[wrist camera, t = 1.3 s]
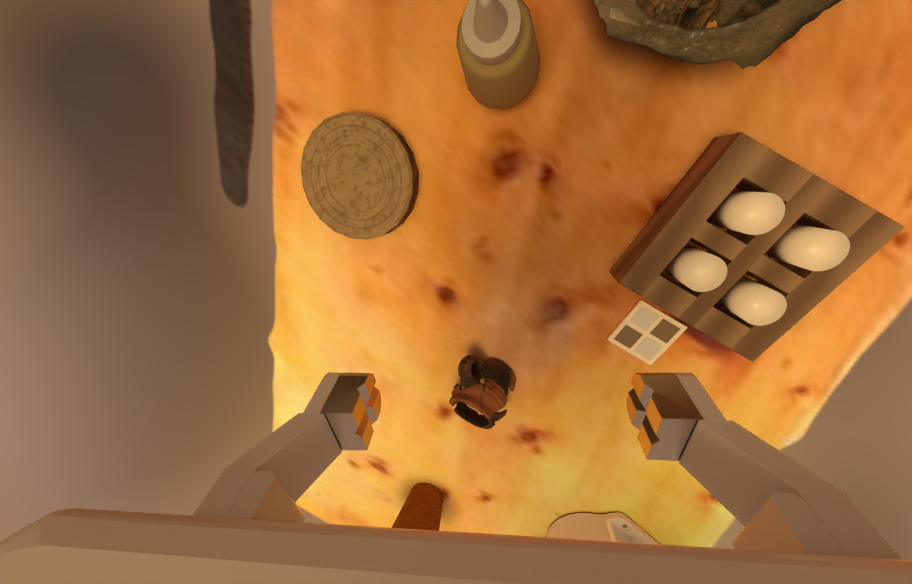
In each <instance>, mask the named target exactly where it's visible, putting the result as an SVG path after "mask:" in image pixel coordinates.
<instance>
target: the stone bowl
mask: <svg viewBox="0 0 912 584" xmlns="http://www.w3.org/2000/svg"><path fill="white" fill-rule="evenodd" d="M840 1H841V0H594V3H595V6H596V7H597V9H598V11H599V17H600V18H603V19H604V21H605V24H606V34H607V35H608V36H610V37H613V38H615V39H617V40H620V41H623V42H628V43H633V44H637V45H640V46H642V47H644V48H647V49H650V50H653V51H655V52H658V53H660V54H662V55H664V56H667V57H669V58H672V59H676V60H680V61H684V62H689V63H696V64H707V63H713V62H716V61H720V60H733V61H734V62H735V63H736V64H738V65H740V67H741V68H742V69H743V68H746V67H747V66H757V65H758V64H759V63H761V62H762V61H763V60H765V59H766V58H767V57H768V56H770V55H771V54H772V53H773V52H774V51H775V50H776V49H777V48H778V47H779V46H780V45H781V44H782V43H784V42H785V41H787V40H788V39H790V38H791V37H793V36H794V35H795V34H796V33H797V32H798V31H799V30H800V29H801V28H802V27H803V26H804V25H805V24H806V23H808V22H810V21H813V20H815V19H816V18H817V17H818V16H819V15H820V14H821V13H822V12H823V11H824V10H826V9H829V8H831V7H832V6H833V5H835V4H837V3H838V2H840ZM714 20H716V21H717V27H714V28H706V26H707V24H708V23H709V22H713V21H714ZM705 28H706V29H705Z"/></svg>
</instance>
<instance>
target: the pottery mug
mask: <svg viewBox="0 0 912 584" xmlns="http://www.w3.org/2000/svg"><path fill="white" fill-rule="evenodd" d="M458 372H459V375H460V378H461V379H460V384H461V386H463V387H465V388H464V389H461V386H459V385H457V384H456V385H455V386H454V390H453V391H452V397H451V398H450V400H449V403H450V405H452V406H454V405H455V403H456V404H457V406H456V408H455V409H454V411H455V412H456V413H457V414H458V415H459V416H460V417H461V418H463V419H464V420H466V421H467V422H469V423H471V424H473V425H475V426H478V427H480V428H484V429H489V428H492V427H493V426H494V425H495V423H494V422H495V421H498V420H500V419H501V418H502V417H503V416H505V415H506V412H507V410H504V411H502V412H496V411H498V410H500V409H502V408H503V407H504V406H505V405H506V402H507V398H506V395H507V393H508V389H509V387H510V390H511V391H514V388H515V381H516V378H515V375H514V373H513V372H512V371H511V369H510V368H509V367H508V366H507V365H505V364H504V363H503V362H501V361H500V360H497V359H495V358H492V357H490V358H489V360H488V361H487V363H485V362H484V361H483V360H482V359H480V358H478V357H477V356H475V355H468V356H466V357H464V358H463V359H462V360H461V362H460V364H459V368H458ZM481 378H485V384H482V383H480V379H481ZM465 403H466V404H468V405H470V406H472V407H474V408H476V409H477V410H479V411H480V412H481V413H482V414H483V415H479V414H478V412H476V411H475V410H473V409H471V408H469V407H468V406H467V405H466V404H465Z"/></svg>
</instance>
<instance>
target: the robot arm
mask: <svg viewBox="0 0 912 584" xmlns="http://www.w3.org/2000/svg"><path fill="white" fill-rule="evenodd" d="M375 383H376V380H375V377H374V374H371V373H327V374H326V375H325V376H324V377H323V379H322V381H321V383H320V384H319V386H318V388H317V390H316V391H315V393H314V395H313V397H312V399H311V400H310V402H309V404H308V406H307V407H306V409H305V411H304V413H299V414H297V415H296V416H295V417H293V418H292V419H290V420H289V421H288V422H286V423H285V424H284V425H282V426H281V427H280V428H278V429H277V430H276V431H274V432H273V433H272V434H270V435H269V436H267V437H266V438H265V439H263V440H262V441H261V442H259V443H258V444H257V445H255V446H254V447H253V448H251V449H250V450H249V451H247V452H246V453H244V454H243V455H242V456H241V457H239V458H238V459H236V460H235V461H234V462H233V463H231V464H230V465H228V466H227V467H226V468H225V469H224V470H223V472H222V473H221V475H220V476H219V478H218V479H217V480H216V482H215V483H214V485H213V486H212V488H211V489H210V491H209V492H208V493H207V495H206V496H205V498H204V499H203V501H202V502H201V504H200V505H199V507H198V508H197V509H196V511H195V512H194V514H193V515H192V516H191V515H175V514H160V513H144V512H127V511H111V510H110V511H109V510H94V509H81V508H71V509H61V510H57V511H54V512H51V513H49V514H47V515H46V516H44V517H42V518H40V519H39V520H36V521H35V522H33V523H31V524H29V525H27V526H26V527H24V528H22V529H21V530H19V531H17V532H16V533H14V534H13V535H11V536H9V537H8V538H6V539H4V540H3V541H1V542H0V584H912V560H902V559H901V558H900V557H899V555H898V554H897V553H896V552H895V551H894V550H893V548H892V547H891V546H890V545H889V544H888V542H887V541H886V540H885V539H884V538H883V537H882V536H881V534H880V533H879V532H878V531H877V530H876V528H875V527H874V526H873V525H872V524H871V523H870V521H869V520H868V519H867V518H866V517H865V516H864V514H863V513H862V512H861V511H860V510H859V509H858V508H857V506H856V505H855V504H854V503H853V501H851V499H850V498H849V497H848V496H847V494H845V493H844V492H842V491H841V490H839V489H838V488H836V487H834V486H833V485H832V484H830V483H828V482H827V481H825V480H824V479H822V478H821V477H819V476H817V475H816V474H814V473H813V472H811V471H810V470H808V469H807V468H805V467H803V466H802V465H801V464H799V463H797V462H796V461H794V460H793V459H791V458H789V457H788V456H787V455H785V454H783V453H782V452H780V451H779V450H777V449H776V448H774V447H773V446H771V445H770V444H768V443H766V442H765V441H763V440H762V439H760V438H759V437H757V436H756V435H754V434H752V433H751V432H749V431H748V430H746V429H745V428H743V427H742V426H740V425H739V424H737V423H735V422H734V421H727V420H726V419H725V417H724V416H723V414H722V413H721V412H720V410H719V409H718V407H717V406H716V405H715V403H714V402H713V400H712V399H711V397H710V396H709V395H708V393H707V392H706V390H705V389H704V387H703V386H702V385H701V383H700V382H699V380H698V379H697V377H696V376H695V375H694V374H692V373H635V375H634V376H633V378H632V385H633V387H634V389H632V390H631V391H630V392H629V393H628V397H627V410H628V414H629V417H630V420H631V422H632V424H633V425H634V426H635V427H636V428H638V429H639V430H640V432H639V435H638V440H639V442H640V444H641V447H642V449H643V452H644V454H645V456H646V459H654V460H671V461H679V463H680V464H681V465H682V466H683V467H684V468H685V469H686V470H687V471H688V472H689V473H690V474H691V475H692V476H693V477H694V478H695V479H696V480H697V481H698V482H699V483H701V484H702V485H703V486H704V487H705V488H706V489H707V490H708V491H709V492H710V493H711V494H712V495H713V496H714V497H715V498H716V499H717V500H718V501H719V502H720V503H721V504H722V505H723V506H724V507H725V508H726V509H727V510H728V511H729V512H730V513H732V514H733V515H734V516H735V517H736V518H737V519H738V520H739V521H740V522H741V523H742V524H743V525H744V526H745V527H744V528H743V530H742V531H741V532H740V533H739V535H738V536H737V537H736V538H735V540H734V542H733V543H732V545H733V547H734V549H724V548H708V547H692V546H676V545H660V544H659V543H658V542H657V541H655V540H654V539H653V538H652V537H651V536H650V535H648V534H647V533H646V532H645V531H644V530H642V529H641V528H640V527H639V526H638V525H637V524H635V523H634V522H633V521H632V520H631V519H629V518H628V517H627V516H626V515H625V514H623V513H619V512H614V513H608V514H592V513H576V514H570V515H567V516H564V517H562V518H560V519H558V520H557V521H555V522H554V523H553V524H552V525H551V527H550V528H549V530H548V534H547V537H531V536H515V535H499V534H483V533H466V532H450V531H434V530H418V529H401V528H385V527H369V526H352V525H336V524H319V523H304V522H303V521H304V515H303V513H302V512H301V510H300V509H299V508H298V506H297V505H296V503H295V502H296V501H297V500H298V498H299V497H300V496H301V495H302V494H303V493H304V492H305V491H306V490H307V489H308V488H309V487H310V486H311V484H312V483H313V482H314V481H315V480H316V479H317V478H318V477H319V476H320V475H321V474H322V473H323V472H324V470H325V469H326V468H327V467H328V466H329V465H330V464H331V463H332V462H333V461H334V460H335V459H336V458H337V456H338V455H339V454H340V453H341V452H342V451H341V450H367V449H368V446H369V444H370V441H371V438H372V435H373V432H374V431H373V428H372V424H373V423H374V422H375V421H376V420H377V419H378V417H379V413H380V409H381V395H380V392H379V390H378V389H377V388H375V387H374V385H375Z"/></svg>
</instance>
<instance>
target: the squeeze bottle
mask: <svg viewBox="0 0 912 584" xmlns="http://www.w3.org/2000/svg"><path fill="white" fill-rule="evenodd" d="M457 49H458V53H459V56H460V60H461V64H462V68H463V72H464V75H465V79H466V83H467V86H468V90H469V91H470V92H471V94H472V95H473V96H474V98H475V99H476V100H477V102H479V103H481V104H483V105H485V106H487V107H489V108H497V109H505V108H507V107H510V106H512V105H515V104H517V103H519V102H520V101H521V100H522V99H523V98H524V97H525V96H526V95H527V94H528V93H529V92H530V91H531V89H532V87H533V85H534V83H535V81H536V79H537V77H538V71H539V63H540V56H539V51H538V47H537V42H536V38H535V33H534V28H533V24H532V19H531V15H530V10H529V9H528V7H527V6H526V5H525V3H524V2H523V0H470V1H469V2H468V3H467V6H466V8H465V10H464V13H463V15H462V18H461V20H460V23H459V25H458V30H457Z"/></svg>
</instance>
